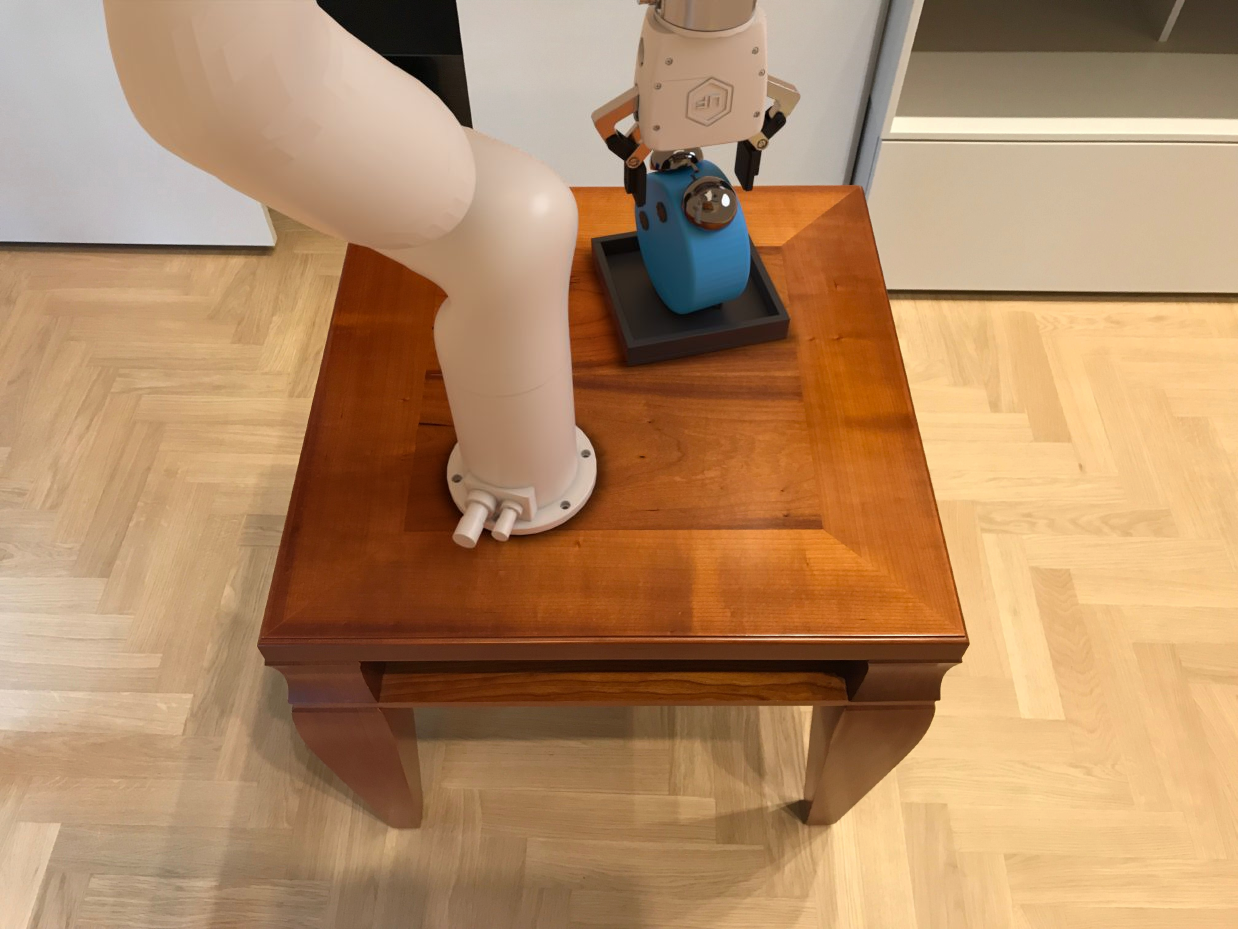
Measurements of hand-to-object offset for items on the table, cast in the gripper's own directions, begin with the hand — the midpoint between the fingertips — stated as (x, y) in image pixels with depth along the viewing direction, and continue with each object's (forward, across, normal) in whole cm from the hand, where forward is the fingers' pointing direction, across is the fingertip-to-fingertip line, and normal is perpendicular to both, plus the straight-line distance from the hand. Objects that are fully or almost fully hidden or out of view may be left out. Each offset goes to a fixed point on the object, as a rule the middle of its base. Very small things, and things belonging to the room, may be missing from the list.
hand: (690, 189), depth 83 cm
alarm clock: (+13, 0, 0) cm, 13 cm away
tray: (+13, 0, 0) cm, 13 cm away
